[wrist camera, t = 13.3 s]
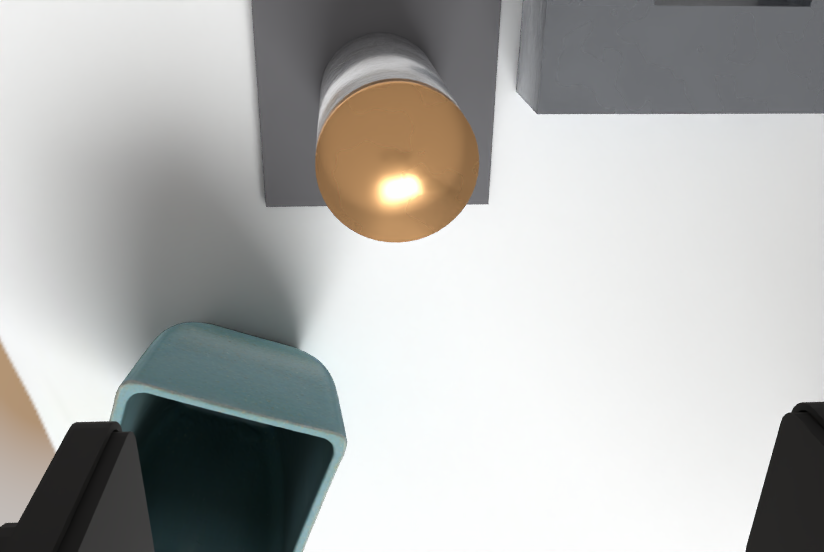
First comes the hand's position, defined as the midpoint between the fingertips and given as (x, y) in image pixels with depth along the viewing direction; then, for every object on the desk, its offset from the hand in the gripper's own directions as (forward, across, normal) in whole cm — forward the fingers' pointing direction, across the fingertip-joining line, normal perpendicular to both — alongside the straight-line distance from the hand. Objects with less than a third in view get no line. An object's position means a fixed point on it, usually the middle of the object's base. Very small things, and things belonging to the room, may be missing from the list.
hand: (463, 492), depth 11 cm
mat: (+24, 0, -1) cm, 24 cm away
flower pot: (+24, +7, +13) cm, 29 cm away
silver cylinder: (+24, 0, -1) cm, 24 cm away
